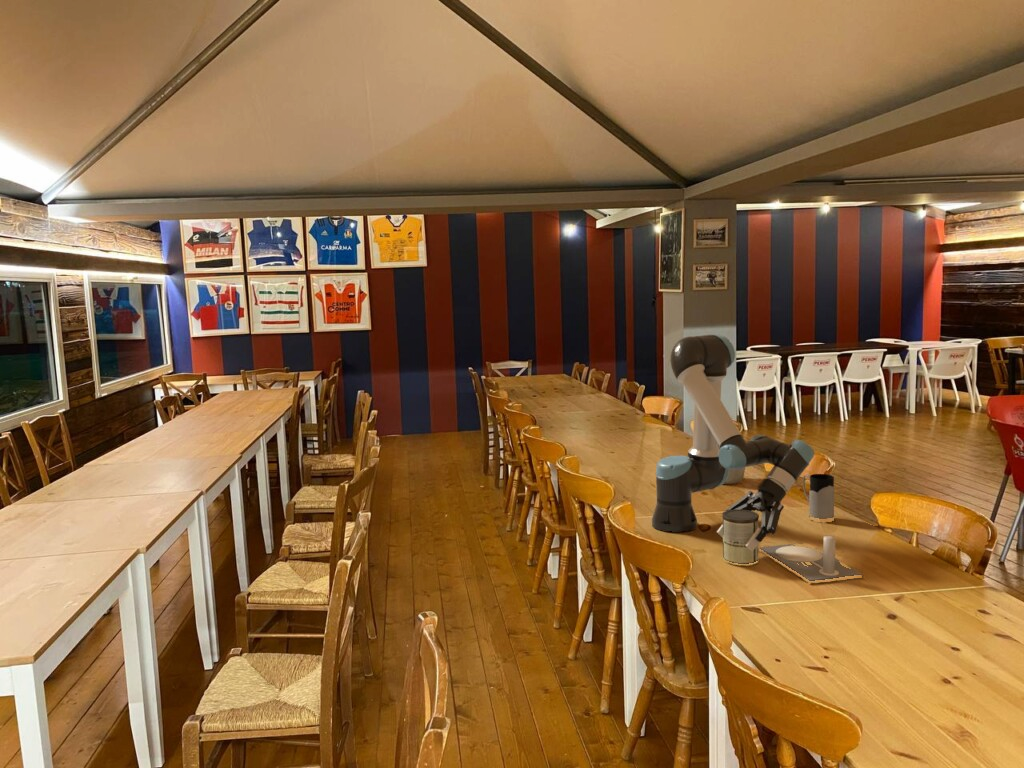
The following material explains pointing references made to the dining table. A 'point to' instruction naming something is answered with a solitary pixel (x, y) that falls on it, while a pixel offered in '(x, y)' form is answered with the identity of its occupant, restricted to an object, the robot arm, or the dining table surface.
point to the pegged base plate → (811, 560)
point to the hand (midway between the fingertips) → (733, 541)
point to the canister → (735, 474)
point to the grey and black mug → (820, 495)
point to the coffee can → (739, 535)
